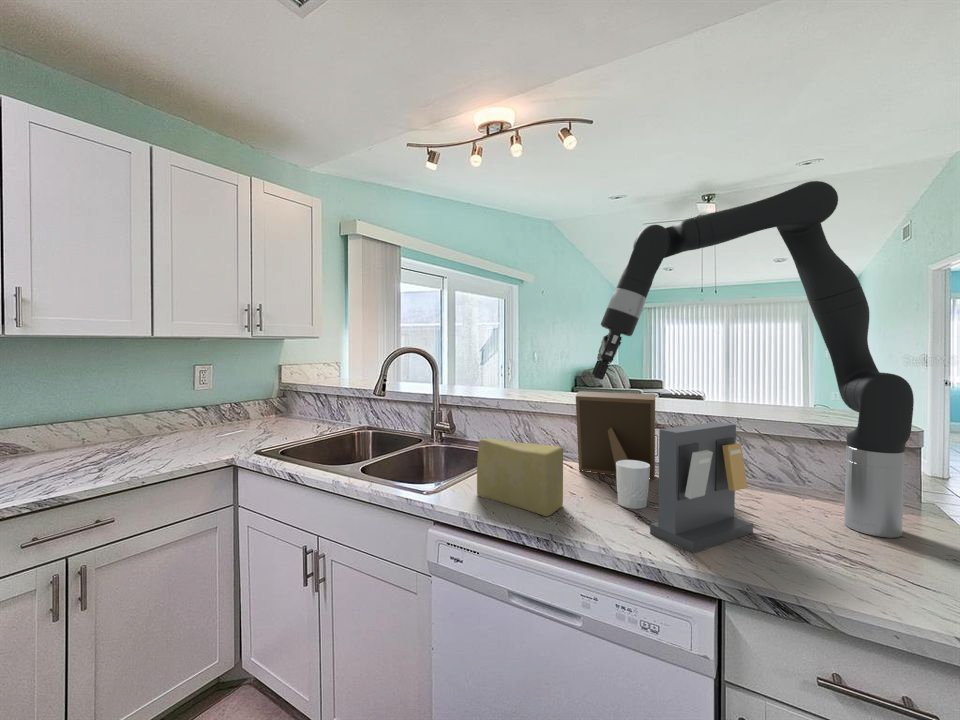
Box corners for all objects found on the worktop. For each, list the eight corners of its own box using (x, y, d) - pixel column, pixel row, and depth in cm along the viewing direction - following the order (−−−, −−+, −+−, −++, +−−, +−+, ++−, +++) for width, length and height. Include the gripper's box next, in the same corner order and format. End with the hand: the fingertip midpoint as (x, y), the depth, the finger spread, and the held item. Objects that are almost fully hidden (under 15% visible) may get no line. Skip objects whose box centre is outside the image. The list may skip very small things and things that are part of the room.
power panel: (708, 516, 102) (710, 420, 101) (752, 532, 93) (755, 427, 93) (650, 533, 93) (651, 427, 92) (693, 553, 84) (694, 436, 83)
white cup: (609, 504, 110) (610, 464, 110) (624, 496, 116) (624, 458, 115) (641, 512, 105) (641, 470, 104) (654, 504, 110) (655, 463, 110)
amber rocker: (741, 487, 93) (735, 443, 94) (747, 487, 92) (741, 443, 93) (728, 490, 91) (722, 445, 92) (734, 491, 90) (728, 445, 91)
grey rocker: (699, 492, 89) (707, 449, 88) (705, 495, 88) (713, 452, 86) (684, 496, 87) (692, 452, 85) (690, 499, 86) (698, 455, 84)
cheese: (467, 500, 113) (467, 441, 113) (488, 489, 121) (488, 434, 121) (547, 518, 101) (547, 452, 101) (564, 506, 109) (565, 444, 109)
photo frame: (581, 467, 143) (582, 389, 142) (655, 475, 134) (656, 392, 133) (571, 481, 129) (572, 394, 128) (652, 491, 120) (653, 398, 119)
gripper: (644, 315, 96) (615, 385, 98) (635, 319, 110) (609, 380, 112) (610, 303, 97) (582, 373, 99) (605, 308, 111) (581, 369, 113)
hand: (596, 377), depth 105 cm, fingers open, 8 cm apart
